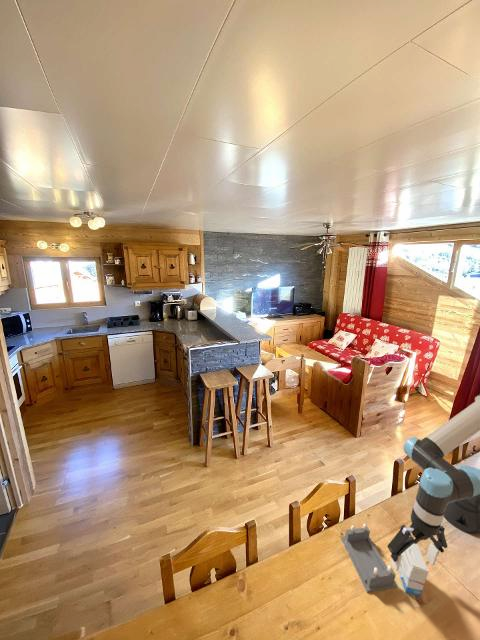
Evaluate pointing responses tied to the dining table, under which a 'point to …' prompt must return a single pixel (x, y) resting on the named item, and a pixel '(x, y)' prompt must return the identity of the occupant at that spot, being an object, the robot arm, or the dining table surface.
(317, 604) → the dining table surface
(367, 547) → the cradle
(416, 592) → the ink box
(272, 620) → the dining table surface
